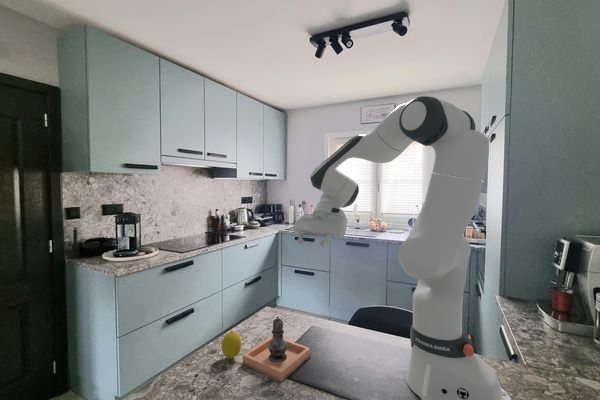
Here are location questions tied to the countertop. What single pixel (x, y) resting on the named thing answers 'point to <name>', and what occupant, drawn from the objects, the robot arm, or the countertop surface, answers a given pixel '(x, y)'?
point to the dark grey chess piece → (277, 342)
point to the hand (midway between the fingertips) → (310, 244)
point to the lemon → (231, 344)
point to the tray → (277, 371)
